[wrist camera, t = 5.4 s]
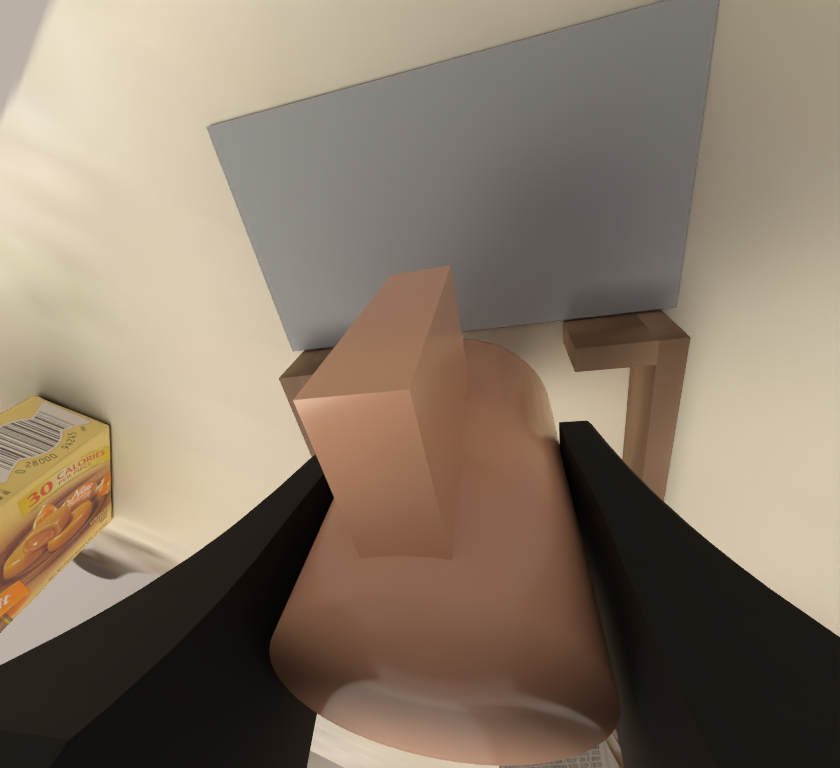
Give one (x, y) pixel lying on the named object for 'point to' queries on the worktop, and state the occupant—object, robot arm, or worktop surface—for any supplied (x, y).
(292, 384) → the jug holder
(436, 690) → the jug
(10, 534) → the candy box
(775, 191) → the worktop surface
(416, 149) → the mat
